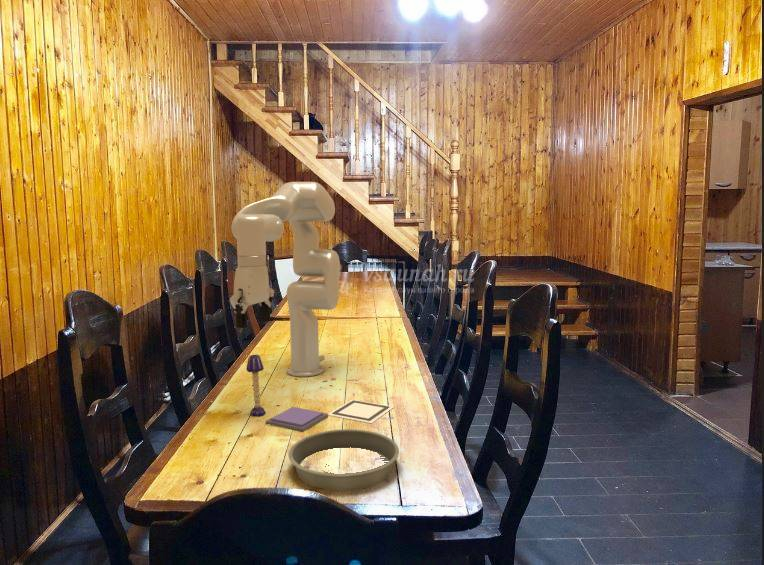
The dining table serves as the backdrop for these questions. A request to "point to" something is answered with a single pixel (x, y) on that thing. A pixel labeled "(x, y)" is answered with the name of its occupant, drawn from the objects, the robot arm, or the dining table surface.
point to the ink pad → (297, 419)
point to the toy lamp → (255, 383)
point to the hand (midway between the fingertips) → (253, 324)
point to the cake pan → (344, 440)
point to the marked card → (361, 411)
